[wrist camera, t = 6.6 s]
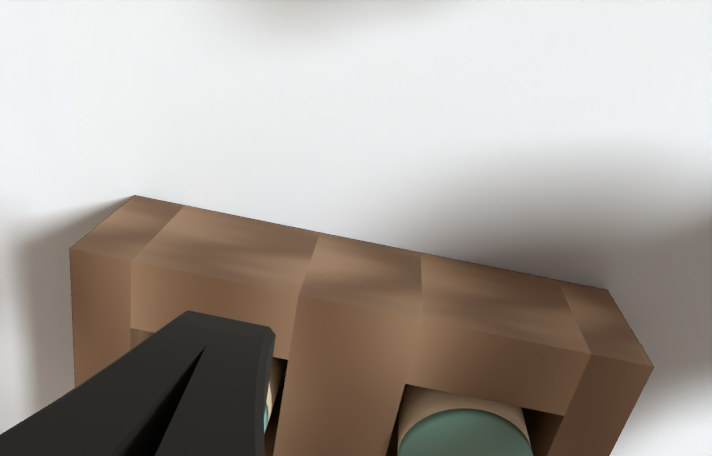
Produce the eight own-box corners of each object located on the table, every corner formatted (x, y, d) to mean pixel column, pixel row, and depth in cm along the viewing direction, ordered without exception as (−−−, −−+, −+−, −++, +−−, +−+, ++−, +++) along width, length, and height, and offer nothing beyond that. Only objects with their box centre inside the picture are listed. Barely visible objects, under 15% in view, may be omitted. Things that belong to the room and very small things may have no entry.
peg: (528, 348, 20) (554, 434, 16) (495, 434, 21) (512, 530, 18) (413, 324, 20) (413, 405, 16) (389, 412, 21) (385, 504, 18)
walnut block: (607, 290, 19) (653, 366, 15) (526, 481, 23) (547, 579, 19) (134, 195, 19) (69, 248, 15) (132, 401, 23) (79, 482, 19)
